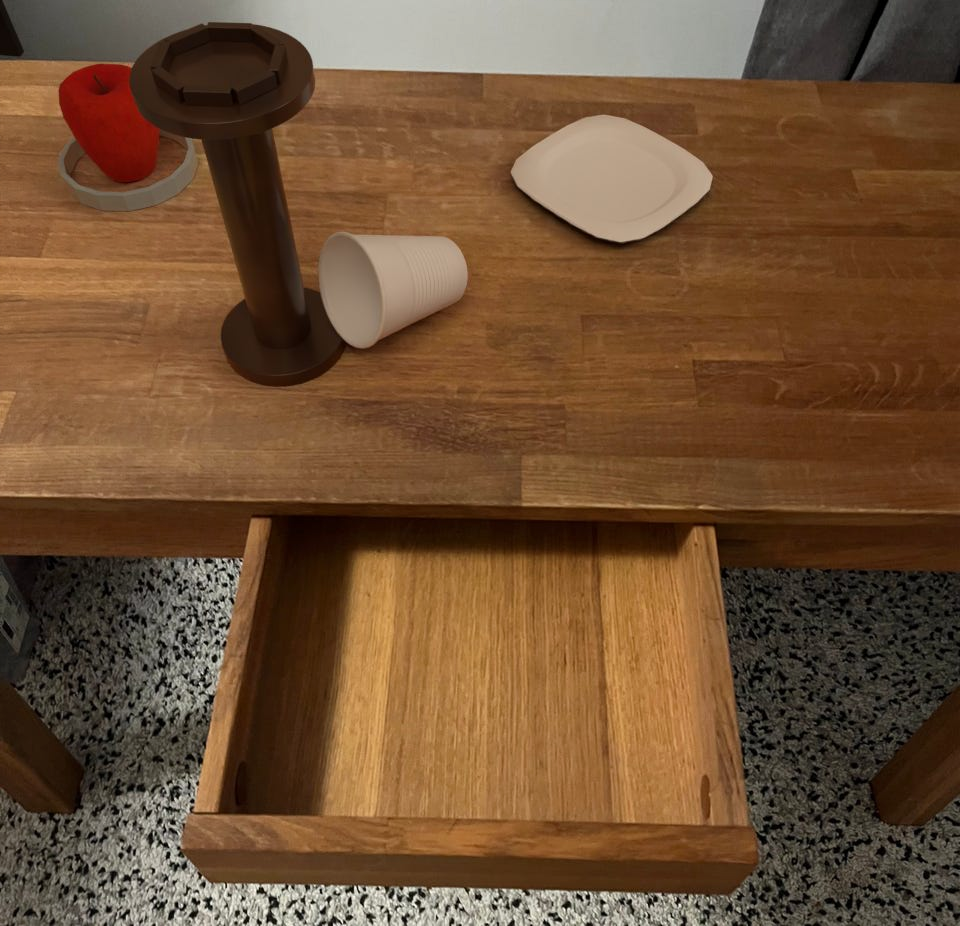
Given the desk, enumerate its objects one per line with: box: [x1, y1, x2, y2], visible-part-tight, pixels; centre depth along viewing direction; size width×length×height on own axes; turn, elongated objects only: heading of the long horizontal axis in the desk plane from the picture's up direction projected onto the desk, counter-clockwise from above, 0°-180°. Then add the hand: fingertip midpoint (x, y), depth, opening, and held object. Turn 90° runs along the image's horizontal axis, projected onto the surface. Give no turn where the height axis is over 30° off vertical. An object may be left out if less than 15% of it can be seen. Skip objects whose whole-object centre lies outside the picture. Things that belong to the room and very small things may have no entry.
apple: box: [57, 63, 160, 183], centre depth 88 cm, size 9×9×11 cm
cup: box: [317, 231, 469, 350], centre depth 77 cm, size 10×10×11 cm
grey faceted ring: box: [57, 129, 199, 212], centre depth 92 cm, size 14×14×2 cm
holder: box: [129, 21, 347, 387], centre depth 68 cm, size 12×12×27 cm
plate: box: [510, 114, 714, 244], centre depth 92 cm, size 18×18×2 cm
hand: (40, 9), depth 73 cm, fingers open, 13 cm apart
